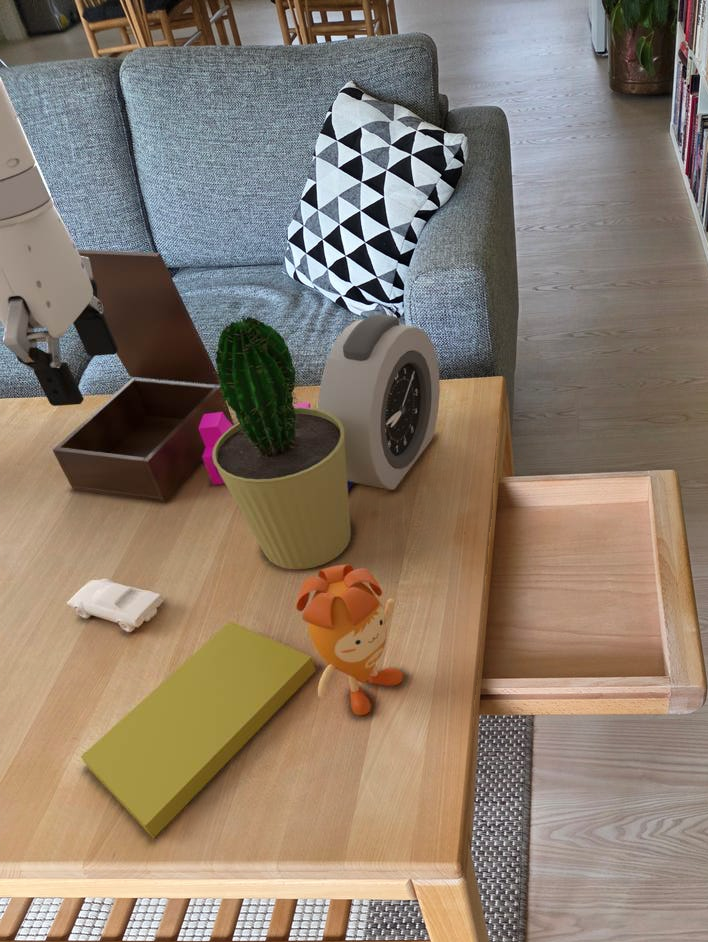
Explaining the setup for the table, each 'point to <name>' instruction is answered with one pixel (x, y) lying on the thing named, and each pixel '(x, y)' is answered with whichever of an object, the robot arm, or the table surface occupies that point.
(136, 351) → the lid
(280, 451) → the potted cactus
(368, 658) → the toy figure
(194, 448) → the chest
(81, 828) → the table surface
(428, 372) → the alarm clock
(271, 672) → the flat olive board
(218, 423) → the toy block
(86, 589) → the toy car
